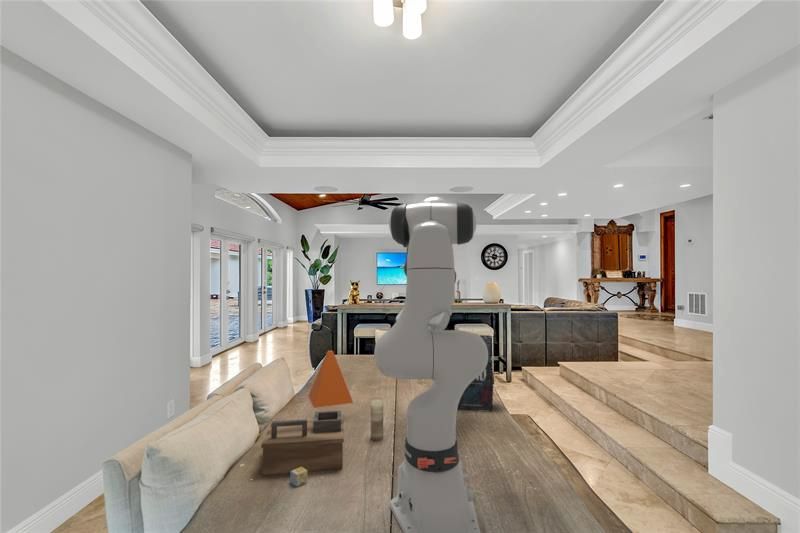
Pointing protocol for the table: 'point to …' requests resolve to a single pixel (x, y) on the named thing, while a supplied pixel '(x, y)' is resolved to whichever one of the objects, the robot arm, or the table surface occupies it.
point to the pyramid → (329, 384)
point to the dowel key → (377, 418)
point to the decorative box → (480, 387)
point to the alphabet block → (298, 476)
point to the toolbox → (304, 444)
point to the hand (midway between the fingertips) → (411, 336)
